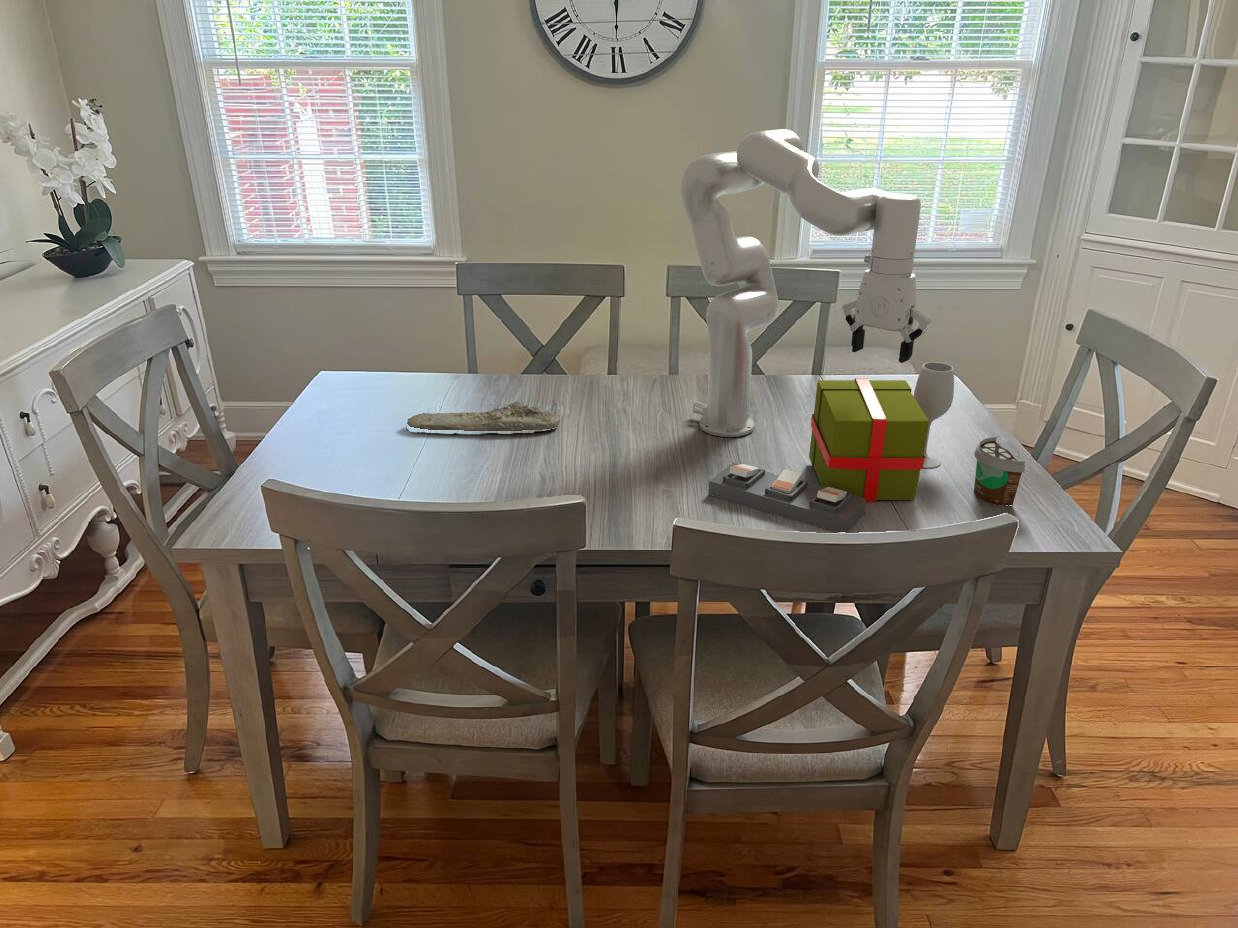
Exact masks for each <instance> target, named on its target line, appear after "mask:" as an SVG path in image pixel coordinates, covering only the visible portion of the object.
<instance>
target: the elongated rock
mask: <svg viewBox="0 0 1238 928" xmlns="http://www.w3.org/2000/svg"><path fill="white" fill-rule="evenodd" d="M560 421H561V420H560V418H559V416H558V415H557V414H555V413H553V412H550V411H549V410H545V409H543V408H541V407H537V406H532V407H531V406H529V405H525V404H522V403H521V401H514V402H512V403H509V404H507V405H506V406H505V405H504V407H501V408H499V407H498V408H494V409H492V410H489V411H482V412H478V411H477V412H475V411H474V412H473V411H471V412H435V413H430V412H429V413H428V412H427V413H426V412H422V413H418V414H414V415H412V416H411V417H410V418H407V423H406V424H408V425H409V426H410V427H414V428H420V429H428V430H464V431H522V430H543V429H552V428H555V427H557V426H558V427H559V425H560ZM558 427H557V428H558Z"/></svg>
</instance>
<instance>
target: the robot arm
mask: <svg viewBox="0 0 1238 928" xmlns="http://www.w3.org/2000/svg"><path fill="white" fill-rule="evenodd" d="M819 172H820V166H819V162H818V160H817V159H816V157H814V156H812V155H810V154H809V153H807V152H804V146H803V143H802V141H801V139H800V137H799V136H798V135H797V134H796V133H795V132H794V131H792V130H789V129H783V128H778V129H767V130H757V131H754V132H751V133H749V134H747V135H746V136H744V138H742V139H741V141H740V142H739V143H738V145H737V148H736V150H733V151H724V152H713V153H709V154H704V155H701V156H699V157H697V158H695V159H694V160H692V161H691V162H689V164H688V165H687V167H685V170H684V172H683V174H682V177H681V181H680V196H681V201H682V204H683V207H684V209H685V213H686V216H687V218H688V220H689V223H690V227H691V229H692V232H693V239H694V242H695V243H694V244H695V247H696V251H697V255H698V259H699V264H700V268H701V271H702V274H703V277H704V279H705V281H706V282H707V283H708V284H709V285H711V286H713V287H714V286H715V287H722V286H723V287H724V286H729V285H733V284H737V283H738V287H739V288H736V289H733V290H728V291H725V292H721V293H720V294H717V295H716V296H715V297H713V299H711V301H710V302H709V304H708V305H707V308H706V312H705V313H706V325H707V330H708V342H709V343H708V346H709V348H708V349H709V350H708V377H707V378H708V379H707V397H706V399H707V401H706V403H703V402H702V401H694V403H693V405H692V413H693V414H697V415H698V414H699V415H701V416H702V417H701V418H700V420H699V427H700V429H701V430H702V431H703V432H705V433H706V434H708V435H713V436H716V437H721V438H722V437H723V438H737V437H742V436H743V437H744V436H747V435H749V434H750V433H753V431H754V430H755V427H756V426H755V420H753V419H752V418H751V417H750V416H749V412H750V395H751V381H752V368H753V367H752V365H753V350H752V349H753V348H752V345H751V344H750V343H751V342H750V341H749V339H748V333H749V332H751V331H754V330H757V329H760V328H764V327H767V326H769V325H770V324H772V323H773V322H774V321H775V320H776V319H777V317H778V314H779V309H780V307H779V305H780V304H779V303H780V302H779V296H778V292H777V288H776V283H775V278H774V273H773V270H772V267H771V262H770V258H769V254H768V252H767V250H766V248H765V247H764V244H763V243H761V241H760V240H759V239H757V238H756V237H753V236H750V235H749V236H748V235H744V236H737V237H736V234H735V231H734V228H733V223H732V219H731V217H730V214H729V212H728V210H727V208H726V207H725V206H724V204H722V202H721V201H720V200H719V197H720V196H725V195H732V194H737V193H745V192H748V191H752V190H755V189H757V188H759V187H761V186H764V185H766V186H768V187H769V188H771V189H774V190H775V191H778V192H779V193H780V194H782V195H783V196H785V197H787V198H789V200H790V203H791V205H792V207H793V208H794V210H795V211H796V213H797V214H798V216H800V217H801V218H802V219H803V220H804V221H806V222H807V223H809V224H810V225H813V226H815V227H816V228H818V229H820V231H821V230H822V231H823V232H825V233H827V234H830V235H832V236H839V237H842V236H843V237H845V236H849V235H853V234H857V233H864V232H869V231H873V232H872V241H871V242H872V245H871V252H870V254H868V255H866V254H865V256H864V258H863V262H864V263H865V264H866V263H867V264H868V268H869V269H866V270H865V271H864V273H863V275H862V278H861V282H860V285H859V289H858V294H857V299H856V300H854V301H851V302H849V303H846V304H843V305H842V310H843V314H844V316H845V321H846V323H847V324H848V325H849V329H850V331H852V332H851V333H852V334H851V335H852V336H851V347H852V348H851V352H853V353H856V352H857V353H858V352H859V351H861V350H863V349H864V346H865V345H864V343H865V336H866V329H865V328H864V326H866V327H870V328H874V329H880V330H885V331H889V332H896V333H897V332H899V333H900V335H901V337H902V339H903V341H901V342H900V347H899V350H900V351H899V355H898V362H899V363H901V364H904V363H905V362H907V361H909V360H910V359H911V358H912V356H913V352H914V350H913V349H914V343H915V340H917V339H918V338H919V337H921V336H922V335H923V334H925V332H926V330H927V329H928V328H929V326H931V323H932V321H931V319H930V318H928V317H927V316H926V315H925V314H923V313H922V312H921V311H920V310H918V309H917V308H916V307H917V306H916V305H917V283H916V282H917V281H916V274H914V273H913V269H914V262H915V261H914V260H915V253H916V252H915V251H916V245H917V238H918V232H919V225H920V224H919V222H920V215H921V207H922V205H921V204H922V203H921V200H920V198H919V197H918V196H915V195H913V194H907V193H892V192H887V191H886V190H881V189H878V188H872V187H870V188H869V187H866V188H861V189H853V190H848V191H843V192H840V191H838V190H836V189H834V188H832V187H830V186H829V185H826V184H824V183H823V182H821V181H820V180H818V178H819ZM854 309H855V311H854ZM914 321H916V322H917V323H918V327H917V328H916V329H914V327H913V325H914V323H915V322H914Z"/></svg>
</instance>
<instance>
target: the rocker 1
mask: <svg viewBox="0 0 1238 928" xmlns="http://www.w3.org/2000/svg"><path fill="white" fill-rule="evenodd" d="M739 464H740V463H739ZM759 468H760V467H757V466H752V465H750V464H749V465H748V464H744V463H741V464H740V465H735V466H732V467H730V472H729V473H731V474H735V475H739V476H742V477H750V476H753V475H756V474H758V472H759Z"/></svg>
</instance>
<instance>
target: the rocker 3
mask: <svg viewBox="0 0 1238 928" xmlns="http://www.w3.org/2000/svg"><path fill="white" fill-rule="evenodd" d="M846 494H847V492H846V491H842V490H838V489H835V488H831V487H827V488H824V489H821V490H819V491H818V493H817V497H818V498H822V499H825V500H829V501H832V502H837V501H840V500H842V499H844V498H846Z"/></svg>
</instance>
